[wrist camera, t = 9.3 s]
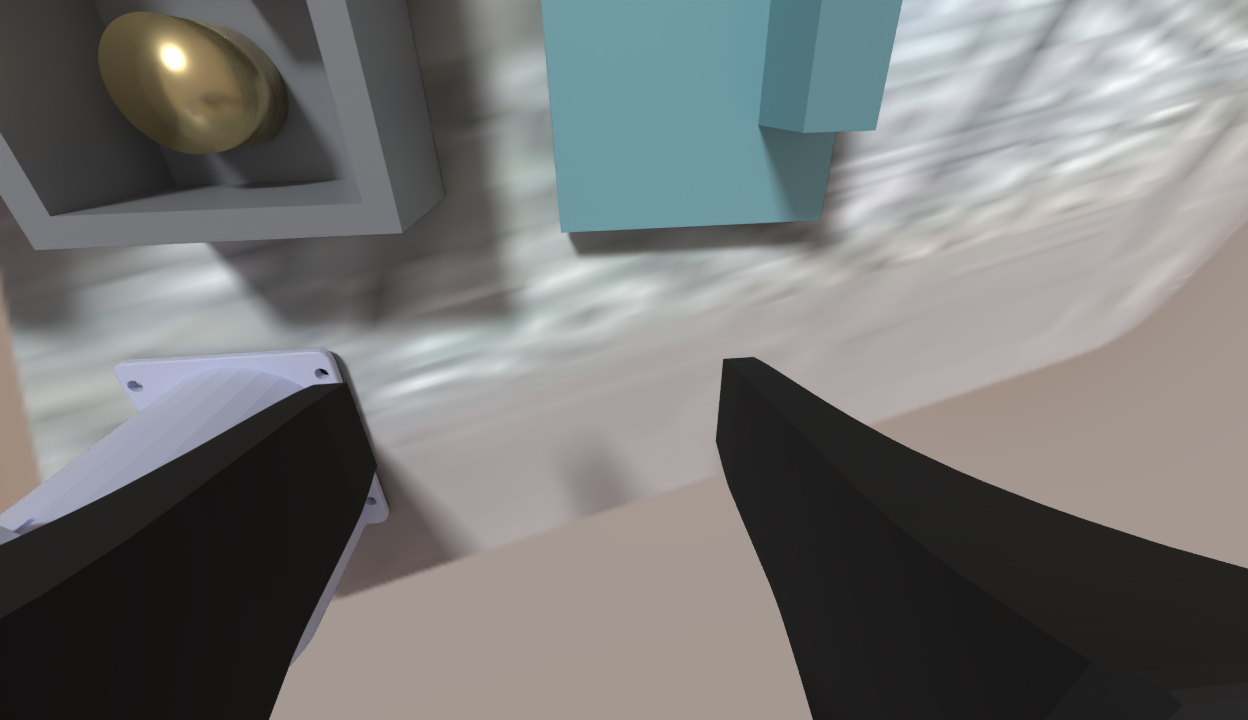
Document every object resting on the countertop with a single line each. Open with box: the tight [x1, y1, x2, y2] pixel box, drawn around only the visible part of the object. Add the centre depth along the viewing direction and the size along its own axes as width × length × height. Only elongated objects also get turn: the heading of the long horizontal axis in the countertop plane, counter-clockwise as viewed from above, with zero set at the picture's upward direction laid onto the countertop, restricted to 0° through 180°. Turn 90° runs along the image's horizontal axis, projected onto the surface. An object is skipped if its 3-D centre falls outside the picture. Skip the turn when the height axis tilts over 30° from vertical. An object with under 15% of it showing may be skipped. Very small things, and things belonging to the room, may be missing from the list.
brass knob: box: [98, 12, 289, 154], centre depth 14 cm, size 3×3×2 cm
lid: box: [541, 0, 902, 233], centre depth 14 cm, size 11×9×5 cm
